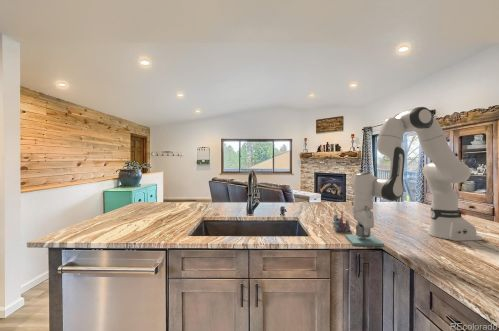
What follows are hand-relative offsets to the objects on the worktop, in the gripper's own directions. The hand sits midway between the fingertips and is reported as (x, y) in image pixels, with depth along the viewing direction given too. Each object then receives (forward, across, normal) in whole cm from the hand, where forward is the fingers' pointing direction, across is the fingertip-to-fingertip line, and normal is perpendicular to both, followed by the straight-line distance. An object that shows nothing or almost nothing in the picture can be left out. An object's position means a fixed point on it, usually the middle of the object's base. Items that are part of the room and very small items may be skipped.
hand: (363, 232), depth 128 cm
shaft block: (+4, 0, 0) cm, 4 cm away
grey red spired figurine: (+5, +20, +6) cm, 22 cm away
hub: (+2, 0, 0) cm, 2 cm away
